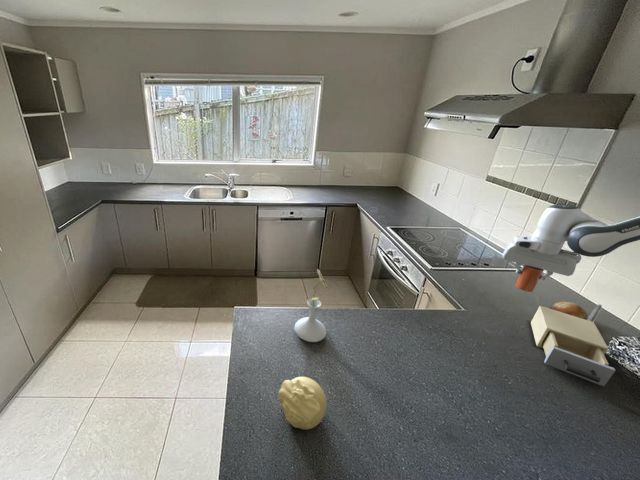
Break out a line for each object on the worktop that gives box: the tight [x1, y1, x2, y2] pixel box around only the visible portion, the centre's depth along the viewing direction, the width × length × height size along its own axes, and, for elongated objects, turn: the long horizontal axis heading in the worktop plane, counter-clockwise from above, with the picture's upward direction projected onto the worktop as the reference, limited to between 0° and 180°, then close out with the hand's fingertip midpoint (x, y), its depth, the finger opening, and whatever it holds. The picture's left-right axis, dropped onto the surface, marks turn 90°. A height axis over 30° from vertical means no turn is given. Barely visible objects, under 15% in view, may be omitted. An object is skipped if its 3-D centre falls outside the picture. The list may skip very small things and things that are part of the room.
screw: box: [587, 303, 603, 323], centre depth 107 cm, size 13×5×5 cm
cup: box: [514, 265, 545, 293], centre depth 111 cm, size 6×6×10 cm
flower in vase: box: [294, 269, 329, 343], centre depth 99 cm, size 13×11×25 cm
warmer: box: [530, 305, 609, 356], centre depth 101 cm, size 16×15×9 cm
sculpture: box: [277, 376, 327, 430], centre depth 73 cm, size 12×12×11 cm
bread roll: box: [551, 301, 589, 320], centre depth 116 cm, size 10×10×8 cm
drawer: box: [542, 331, 616, 387], centre depth 92 cm, size 19×13×7 cm
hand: (529, 276), depth 111 cm, fingers closed on cup, 5 cm apart
